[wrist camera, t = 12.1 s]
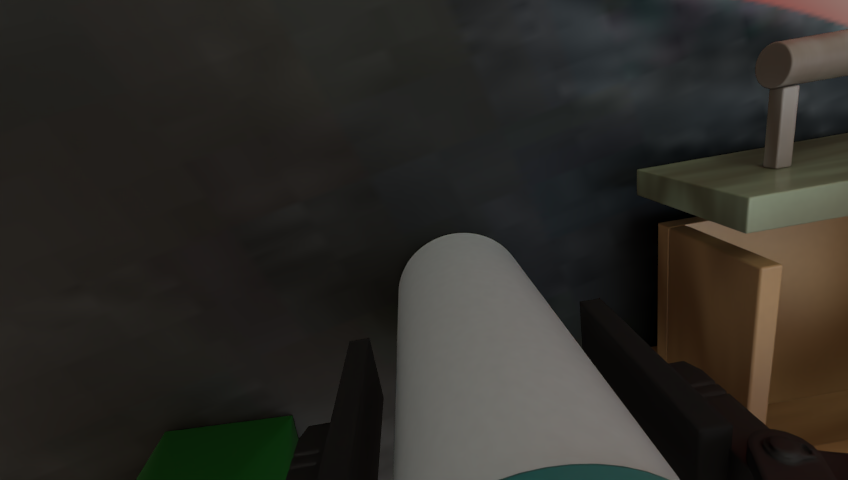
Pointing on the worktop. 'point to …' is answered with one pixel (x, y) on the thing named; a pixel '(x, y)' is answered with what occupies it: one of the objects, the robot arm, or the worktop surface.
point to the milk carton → (225, 452)
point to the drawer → (764, 257)
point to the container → (501, 379)
